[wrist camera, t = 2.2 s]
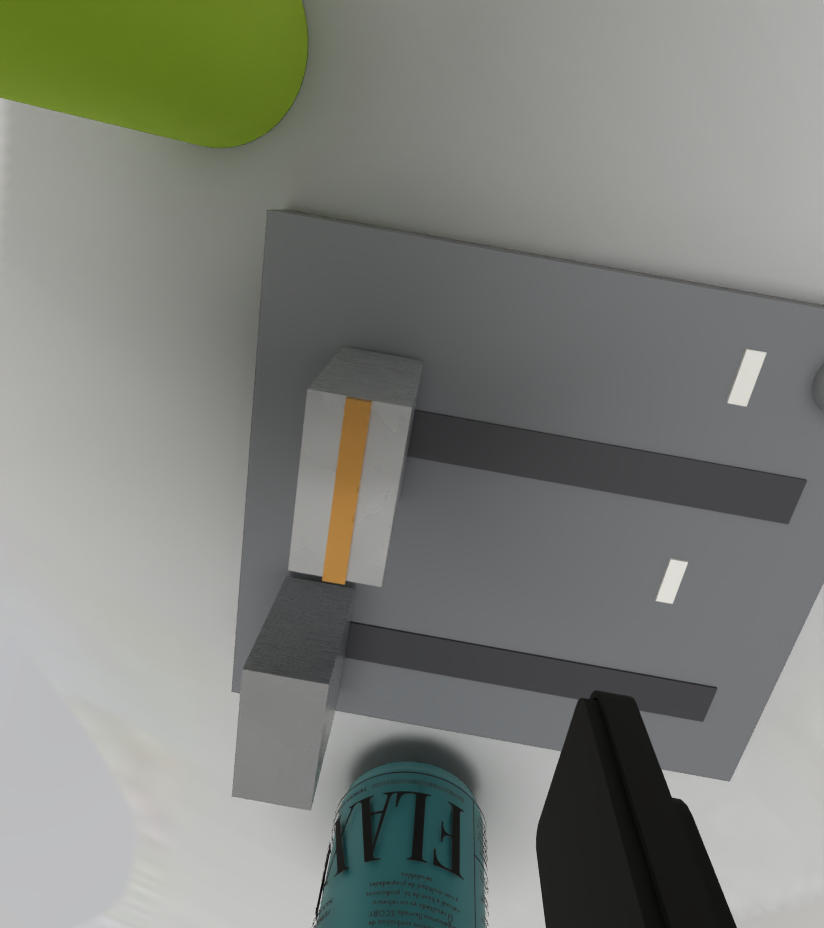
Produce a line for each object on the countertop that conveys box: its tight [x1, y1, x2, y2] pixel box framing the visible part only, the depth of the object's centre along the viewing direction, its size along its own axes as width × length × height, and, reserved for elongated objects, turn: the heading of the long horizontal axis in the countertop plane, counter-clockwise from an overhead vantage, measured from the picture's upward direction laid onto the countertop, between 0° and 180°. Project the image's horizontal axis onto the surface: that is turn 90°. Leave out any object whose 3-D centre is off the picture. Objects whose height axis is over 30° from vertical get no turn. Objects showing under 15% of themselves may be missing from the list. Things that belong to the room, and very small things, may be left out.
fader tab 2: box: [288, 347, 423, 587], centre depth 18 cm, size 5×2×5 cm, turn 171°
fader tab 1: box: [232, 576, 355, 810], centre depth 22 cm, size 5×2×5 cm, turn 171°
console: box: [232, 210, 824, 781], centre depth 22 cm, size 18×20×4 cm
